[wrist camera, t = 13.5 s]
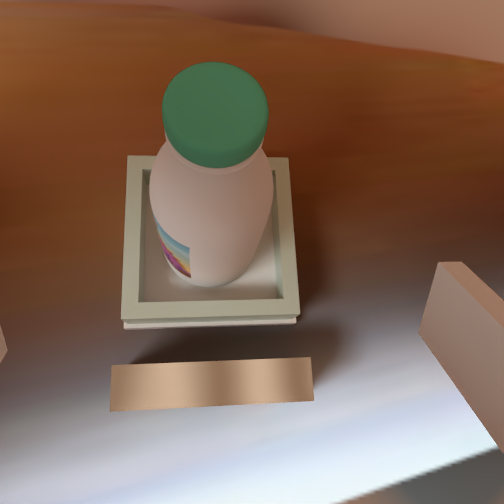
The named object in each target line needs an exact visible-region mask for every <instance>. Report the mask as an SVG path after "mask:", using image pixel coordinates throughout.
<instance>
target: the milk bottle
mask: <svg viewBox="0 0 504 504" xmlns="http://www.w3.org/2000/svg"><path fill="white" fill-rule="evenodd" d="M162 117H163V124H164V128H165V136H166V142H165V143H164V144H163V146H162V147H161V149H160V150H159V152H158V154H157V156H156V158H155V161H154V163H153V166H152V170H151V175H150V184H149V194H150V202H151V207H152V212H153V216H154V220H155V224H156V227H157V231H158V235H159V238H160V241H161V245H162V248H163V251H164V254H165V257H166V259H167V261H168V263H169V265H170V267H171V268H172V270H173V271H174V272H175V273H176V274H177V275H178V276H179V277H180V278H181V279H183V280H184V281H186V282H188V283H190V284H192V285H195V286H199V287H206V288H213V287H220V286H223V285H226V284H229V283H231V282H233V281H234V280H236V279H237V278H239V277H240V276H241V275H242V274H243V273H244V272H245V271H246V269H247V268H248V266H249V264H250V263H251V261H252V259H253V256H254V254H255V251H256V249H257V247H258V244H259V242H260V239H261V237H262V234H263V231H264V228H265V226H266V223H267V220H268V217H269V213H270V210H271V206H272V201H273V190H274V187H273V176H272V171H271V167H270V164H269V162H268V159H267V157H266V155H265V153H264V151H263V150H262V148H261V147H262V144H263V140H264V135H265V132H266V129H267V124H268V117H269V109H268V103H267V98H266V95H265V93H264V91H263V89H262V87H261V86H260V84H259V83H258V82H257V81H256V80H255V78H253V77H252V76H251V75H250V74H249V73H247V72H246V71H244V70H243V69H241V68H239V67H236V66H234V65H231V64H227V63H222V62H204V63H199V64H195V65H192V66H190V67H188V68H186V69H184V70H182V71H181V72H180V73H178V74H177V75H176V76H175V77H174V78H173V79H172V81H171V82H170V83H169V85H168V87H167V89H166V91H165V94H164V97H163V102H162Z"/></svg>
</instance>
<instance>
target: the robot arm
mask: <svg viewBox="0 0 504 504" xmlns="http://www.w3.org/2000/svg"><path fill="white" fill-rule="evenodd" d="M418 333H419V334H420V336H421V337H422V339H423V340H424V341H425V343H426V344H427V346H428V347H429V349H430V350H431V351H432V353H433V354H434V356H435V357H436V359H437V360H438V361H439V363H440V364H441V366H442V367H443V368H444V370H445V371H446V373H447V374H448V376H449V377H450V378H451V380H452V381H453V383H454V384H455V386H456V387H457V388H458V390H459V391H460V393H461V394H462V395H463V397H464V398H465V400H466V401H467V403H468V404H469V405H470V407H471V408H472V410H473V411H474V413H475V414H476V415H477V417H478V418H479V420H480V421H481V423H482V424H483V425H484V427H485V428H486V430H487V431H488V432H489V434H490V435H491V437H492V438H493V440H494V441H495V442H496V444H497V445H498V447H499V448H500V450H501V451H502V452H503V454H504V300H503V299H501V298H500V297H499V296H498V295H497V294H496V293H495V292H494V291H493V290H492V289H491V288H490V287H488V286H487V285H486V284H485V283H484V282H483V281H482V280H481V279H480V278H479V277H478V276H477V275H476V274H474V273H473V272H472V271H471V270H470V269H469V268H468V267H467V266H466V265H465V264H464V263H463V262H438V265H437V269H436V272H435V276H434V279H433V283H432V286H431V290H430V293H429V297H428V300H427V304H426V307H425V311H424V315H423V318H422V322H421V325H420V329H419V332H418ZM6 352H7V346H6V343H5V339H4V336H3V333H2V329H1V326H0V363H1V361H2V359H3V358H4V356H5V354H6Z"/></svg>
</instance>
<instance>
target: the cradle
mask: <svg viewBox="0 0 504 504" xmlns="http://www.w3.org/2000/svg"><path fill="white" fill-rule="evenodd" d="M155 158H156V156H129V155H128V159H127V184H126V208H125V233H124V257H123V282H122V306H121V320H123V321H124V329H126V330H132V329H164V328H195V327H226V326H258V325H289V324H295V323H296V317H297V316H298V315H299V314H300V305H299V291H298V278H297V265H296V252H295V239H294V226H293V212H292V199H291V186H290V173H289V160H288V158H281V157H267V159H268V162H269V164H270V167H271V171H272V176H273V187H274V190H273V201H272V206H271V210H270V213H269V217H268V220H267V223H266V226H265V228H264V231H263V234H262V237H261V239H260V242H259V244H258V247H257V249H256V251H255V254H254V256H253V259H252V261H251V263H250V264H249V266H248V268H247V269H246V271H245V272H244V273H243V274H242V275H241V276H240V277H239V278H237V279H236V280H234V281H233V282H231V283H229V284H226V285H223V286H220V287H213V288H206V287H199V286H195V285H192V284H190V283H188V282H186V281H184V280H183V279H181V278H180V277H179V276H178V275H177V274H176V273H175V272H174V271H173V270H172V268H171V267H170V265H169V263H168V261H167V259H166V257H165V254H164V251H163V248H162V245H161V241H160V238H159V235H158V231H157V227H156V224H155V220H154V216H153V212H152V207H151V202H150V194H149V184H150V175H151V170H152V166H153V163H154V161H155Z"/></svg>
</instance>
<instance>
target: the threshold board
mask: <svg viewBox="0 0 504 504" xmlns="http://www.w3.org/2000/svg"><path fill="white" fill-rule="evenodd" d="M300 401H314V393H313V380H312V368H311V357H302V358H278V359H253V360H229V361H204V362H180V363H156V364H131V365H112V374H111V396H110V412H111V411H130V410H149V409H168V408H187V407H205V406H224V405H243V404H262V403H281V402H300Z"/></svg>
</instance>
